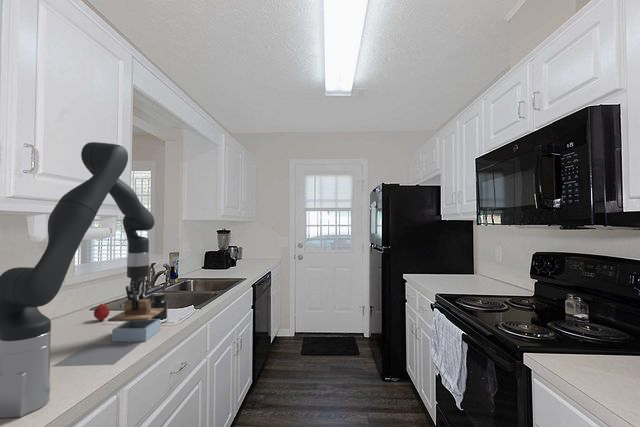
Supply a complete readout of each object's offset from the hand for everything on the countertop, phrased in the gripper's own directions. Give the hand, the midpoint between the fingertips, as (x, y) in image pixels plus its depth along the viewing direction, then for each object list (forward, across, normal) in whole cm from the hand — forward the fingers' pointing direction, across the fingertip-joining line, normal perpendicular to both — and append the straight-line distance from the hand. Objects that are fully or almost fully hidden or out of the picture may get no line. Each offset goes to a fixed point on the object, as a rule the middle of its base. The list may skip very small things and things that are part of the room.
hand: (137, 308), depth 124 cm
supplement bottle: (+11, +19, 0) cm, 22 cm away
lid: (+2, 0, 0) cm, 2 cm away
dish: (+11, 0, 0) cm, 11 cm away
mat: (+11, -16, +4) cm, 20 cm away
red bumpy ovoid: (+11, +22, +26) cm, 36 cm away
